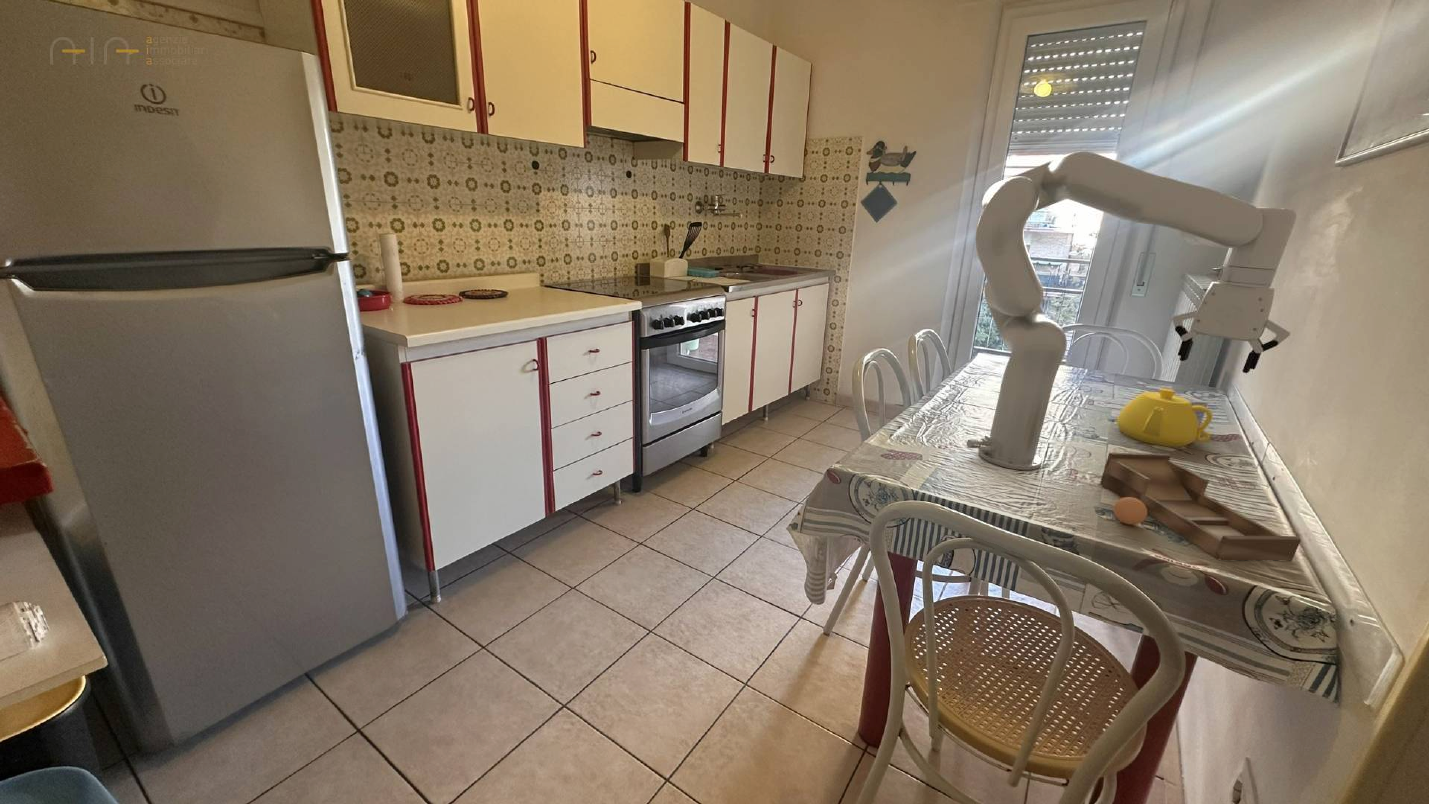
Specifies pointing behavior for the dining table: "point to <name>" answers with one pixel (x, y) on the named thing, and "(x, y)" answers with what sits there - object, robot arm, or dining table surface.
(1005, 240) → the robot arm
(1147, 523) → the dining table surface
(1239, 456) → the dining table surface
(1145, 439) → the teapot
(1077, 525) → the dining table surface
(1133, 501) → the ball
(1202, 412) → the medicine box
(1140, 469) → the lane
